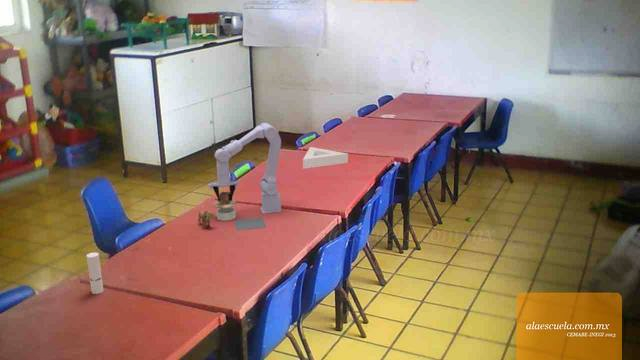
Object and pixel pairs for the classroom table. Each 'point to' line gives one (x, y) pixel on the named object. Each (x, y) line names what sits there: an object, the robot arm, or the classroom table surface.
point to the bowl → (225, 214)
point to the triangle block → (323, 158)
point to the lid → (225, 201)
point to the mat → (250, 223)
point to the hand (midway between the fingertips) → (225, 200)
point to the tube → (95, 273)
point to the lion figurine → (205, 217)
